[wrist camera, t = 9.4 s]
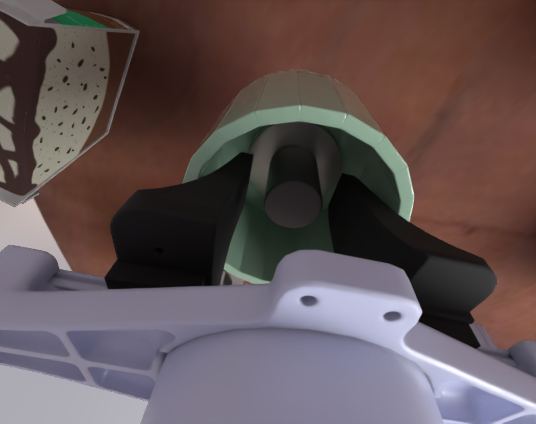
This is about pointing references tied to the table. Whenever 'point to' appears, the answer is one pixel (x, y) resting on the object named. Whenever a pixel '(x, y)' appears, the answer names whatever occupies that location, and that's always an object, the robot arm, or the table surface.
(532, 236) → the table surface
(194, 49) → the table surface
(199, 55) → the table surface
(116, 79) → the food container
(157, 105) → the table surface
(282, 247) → the cup
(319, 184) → the lid
